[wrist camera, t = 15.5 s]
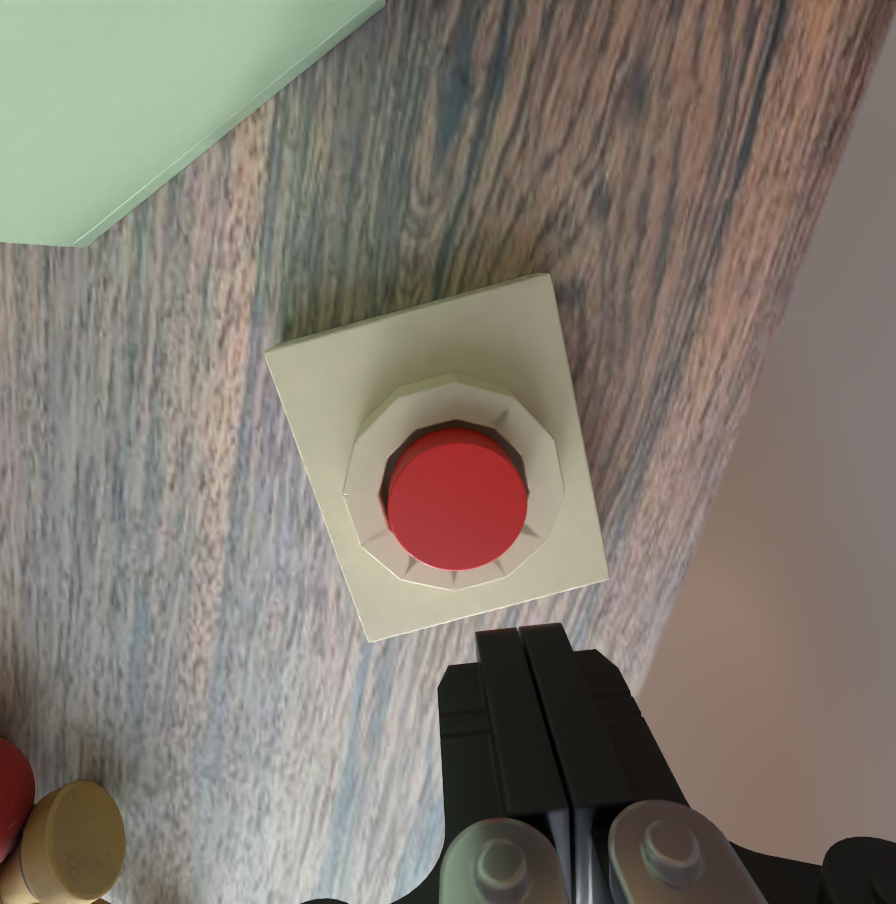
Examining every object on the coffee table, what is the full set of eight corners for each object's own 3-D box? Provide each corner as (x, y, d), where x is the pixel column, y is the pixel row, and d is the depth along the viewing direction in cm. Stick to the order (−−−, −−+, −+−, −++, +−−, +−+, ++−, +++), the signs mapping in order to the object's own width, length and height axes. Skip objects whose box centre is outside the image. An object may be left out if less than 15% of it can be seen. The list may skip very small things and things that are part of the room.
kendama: (260, 891, 31) (14, 680, 23) (214, 1055, 26) (-130, 849, 18) (148, 913, 33) (-115, 724, 25) (82, 1071, 27) (-280, 890, 20)
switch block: (537, 272, 21) (565, 272, 17) (594, 553, 25) (628, 604, 21) (276, 343, 21) (247, 359, 18) (371, 612, 25) (364, 674, 21)
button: (501, 411, 19) (510, 425, 17) (529, 528, 20) (540, 551, 19) (373, 446, 19) (369, 463, 17) (409, 560, 20) (409, 586, 19)
